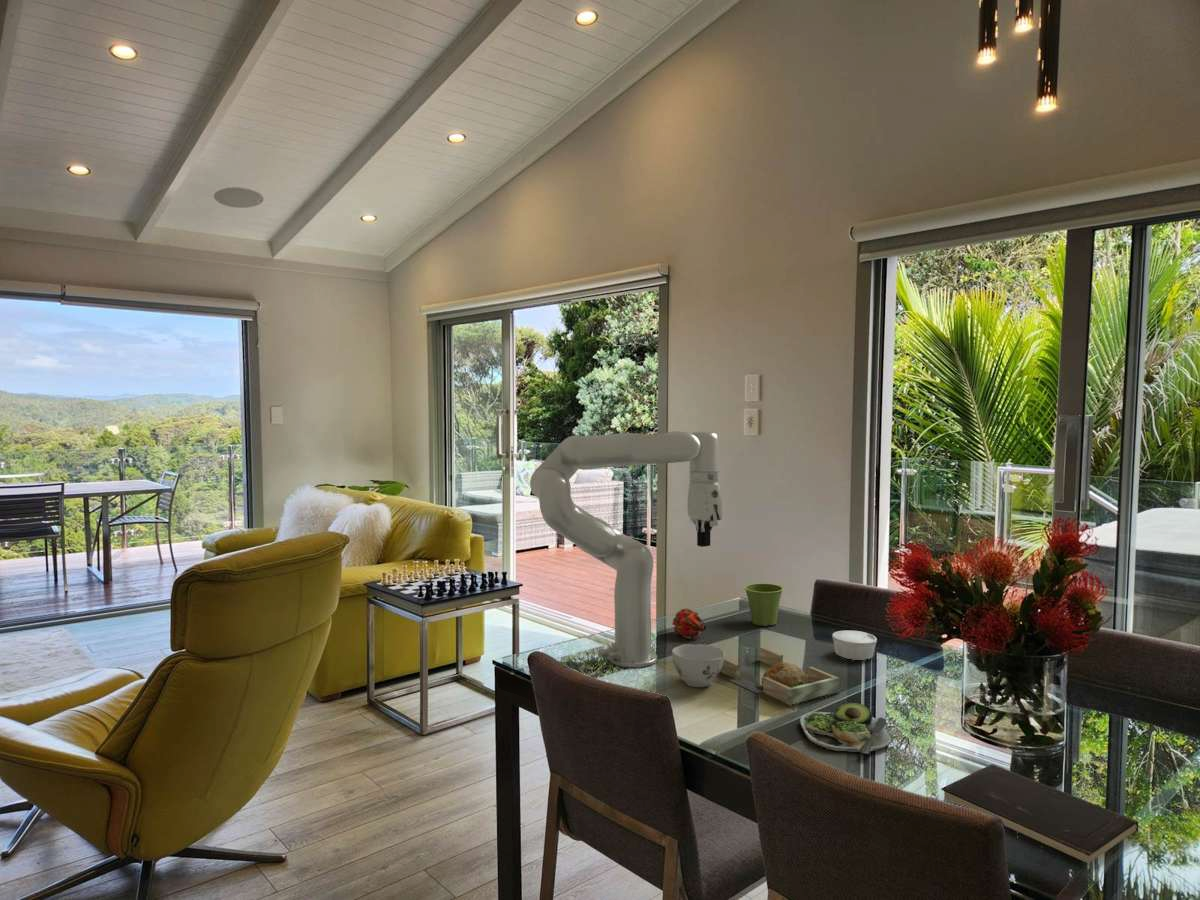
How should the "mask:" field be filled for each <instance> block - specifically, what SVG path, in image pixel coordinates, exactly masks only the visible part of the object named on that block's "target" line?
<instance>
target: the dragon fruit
mask: <svg viewBox="0 0 1200 900" xmlns="http://www.w3.org/2000/svg"><path fill="white" fill-rule="evenodd" d="M672 619H673V620H672V625H673V626H674V632H675V634H676V633H677V634H678V635H681V636H682V637H683V636H686V637H690V636H691V637H690V639H689V640H693V638H692V637H693V635H694V637H695V635H696V636H697V637H699V636H700V635H701V634H702V632H704V631H706V630H707V625H704V624H705V623H704V621H702V618H701V617H700V616H699V612H698V611H694V610H692V609H691V608H682V609H680V610H679V611H678V612H677V613H675V617H673V618H672ZM679 633H680V634H679ZM677 634H676V635H677Z"/></svg>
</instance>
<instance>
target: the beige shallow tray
mask: <svg viewBox="0 0 1200 900" xmlns="http://www.w3.org/2000/svg"><path fill="white" fill-rule="evenodd" d="M758 661H759V662H762V663H764V664H767V665H769V666H770V667H771V666H773V665H775V664H779V663H784V655H783V654H781V653H779V652H777V651H774V650H772V649H769V648H767V647H765V646H759V647H758ZM807 669H808V673H805V672H804V673H805V674H806V676H807V679H808V684H804V685H800V686H796V687H792V688H790V687H788V686H786V685H783V684H781V683H779V682H777V681H775V680H772V679H770V678H768V677H764V678H763V684H762V690H761V689H758V688H757V687H754V686H753V685H751V684H749V683H746V682H745V681H743V680H741V679H740V664H739V663H737V662H735V661H732V660H731V659H728V658H726V657H724V660H723V665H722V668H721V670H720V672H719V673H723V674H725V675H726V676H729V677H731V679H729V680H728V681H729V682H730V683H733V684H735V685H738V686H739V687H742V688H744V689H746V690H747V691H750V692H752V693H754V694H756V695H757V694H762V693H764V694H765V695H768V696H769V697H772V698H774V699H776V700H778V701H781V702H782V703H784V704H787V705H788V706H793V705H792V704H794V705H796V704H795V703H798V702H802V701H806V700H808V699H812V698H815V697H818V696H822V695H825V694H828V693H832V692H836V691H839V692H840V687H841V686H840V684H841V681H840V679H841V678H840V677H838V676H836V675H833V674H830V673H828V672H826V671H823V670H821V669H818V668H816V667H814V666H808V668H807ZM810 682H811V683H810ZM806 702H807V701H806ZM802 703H803V702H802ZM798 704H799V703H798Z"/></svg>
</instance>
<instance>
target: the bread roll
mask: <svg viewBox="0 0 1200 900" xmlns="http://www.w3.org/2000/svg"><path fill="white" fill-rule="evenodd" d="M806 674H807V673H806ZM806 674H805V671H804V670H803V669H802V668H801V667H800V666H798V665H797V664H795V663H789V662H783V663H779V664H775V665H773V666H771V665H770V667H768V669H767V670H765V672H764V674H763V676H762V677H761V684H762V685H763V678H764V677H768V678H770V679H772V680H775V681H777V682H779V683H781V684H783V685H786V686H788V687H790V688H792V687H796V686H800V685H804V684H808V683H809V682H808V679H807V676H806Z"/></svg>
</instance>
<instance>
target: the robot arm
mask: <svg viewBox="0 0 1200 900" xmlns="http://www.w3.org/2000/svg"><path fill="white" fill-rule="evenodd" d="M718 438H719V437H718V434H717V433H716V432H713V431H693V432H688V431H676V430H675V431H674V430H672V431H668V432H666V433H660V434H659V433H658V434H650V433H649V434H643V433H637V432H635V433H633V432H632V433H631V432H628V433H627V432H624V433H612V434H611V433H609V434H599V435H598V434H597V435H596V434H595V435H571V436H568V437H567V438H565V439H563V441H561V442H560V444H558V446H557V447H555V448H554V449H553V451H552V452H551V453H550V454H549V455H548V456H547V457H546V458H545V460H544V461H543V462H542V463H541V464H540V465H539V466H538V467H537V468H536V469H535V470H534V472H532V475H531V476H530V479H529V486H530V491H531V492H532V494H533V495H534V496H535V497H537V498H538V500H539V501H538V502H539V509H540V514H541V516H542V518H543V520H544V522H545V523H546V525H547V526H548V527H550V529H552V531H555V532H556V533H557V534H559V535H560V536H562V537H563V538H564V539H567V540H568V541H569V542H571V543H572V544H574V545H575V546H576V547H577V548H579V549H580V550H581V551H583V552H585V553H586V554H588V555H590V556H591V557H593V558H594V559H596V560H598V561H600V562H601V563H603V564H605V565H607V566H608V567H610V568H611V569H613V570H614V571H616V577H615V583H614V592H613V593H614V595H613V597H614V600H613V601H614V642H611V643H610V644H611V645H610V646H609V647H608V648H602V649H599V650H598V652H597V655H598V657H599V658H605V657H607V658H608V660H610V661H611V662H612V663H611V662H610V661H609V662H610V663H611V664H613V665H616V666H617V665H618V667H623V668H631V667H636V668H643V667H649V666H652V665H654V664H655V663H656V662H657V661H658V655H657V654H656V653H655V651H652V618H651V617H652V608H651V607H652V605H651V604H652V599H651V597H652V595H651V594H652V591H651V588H652V577H653V572H654V571H653V570H654V557H653V555H652V552H651V550H650V549H649V548H648V547H647V545H645V544H644V543H642V542H641V541H639V540H636V539H633V538H631V537H630V536H628V535H626V534H625V533H623V532H621V531H619V530H618V529H616V528H614V527H613V526H611V525H610V524H609V523H608V522H606V521H605V520H603V519H601V518H599V517H598V516H597V517H596V516H594V515H592V514H590V513H589V512H588V511H586V510H584V509H583V508H582V507H580V506H578V505H577V504H576V503H575V502H574V501H573V499H572V494H571V493H572V492H571V481H570V480H571V478H572V477H573V476H574V475H575V474H576V473H577V472H578V470H593V469H594V470H595V469H605V468H618V467H619V468H620V467H634V466H636V467H637V466H644V465H645V466H647V465H657V464H658V465H659V464H660V465H661V464H673V463H676V464H677V463H683V462H684V463H685V462H689V484H688V490H687V491H688V492H687V493H688V494H687V516H688V517H689V518H690V519H689V520H690V522H692V523H693V525H695V531H696V535H697V536H696V539H697V540H696V541H697V542H696V543H697V544H696V545H697V546H698V547H701V548H702V547H703V548H704V547H710V546H711V532H712V531H713V527H717V526H718V524H719V523H718V521H722V519H723V502H722V501H723V500H722V492H721V486H720V483H719V473H718V472H719V471H718V470H719V463H718V462H719V444H718V443H719V442H718V441H719V439H718Z"/></svg>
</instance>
